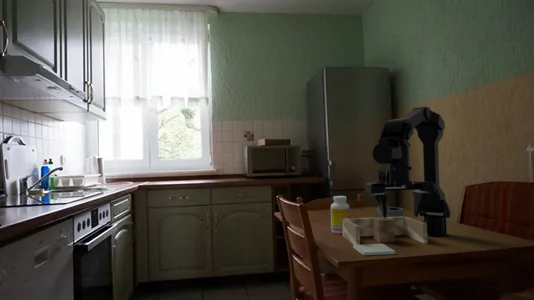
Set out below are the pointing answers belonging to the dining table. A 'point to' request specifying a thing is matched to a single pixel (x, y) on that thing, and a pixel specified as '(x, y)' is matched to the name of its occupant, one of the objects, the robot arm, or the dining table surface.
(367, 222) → the wooden u-shaped frame
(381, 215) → the mortar and pestle
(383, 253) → the tile
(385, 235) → the block
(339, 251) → the dining table surface
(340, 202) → the supplement bottle
